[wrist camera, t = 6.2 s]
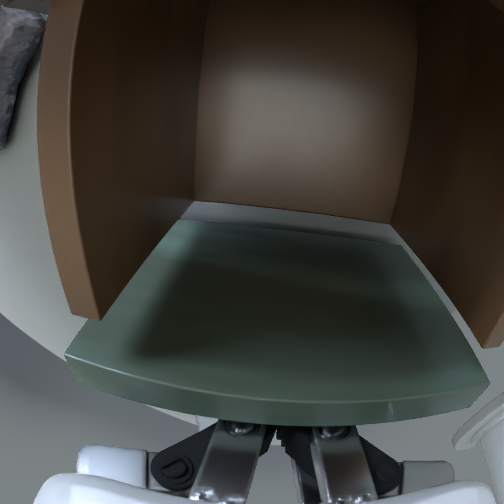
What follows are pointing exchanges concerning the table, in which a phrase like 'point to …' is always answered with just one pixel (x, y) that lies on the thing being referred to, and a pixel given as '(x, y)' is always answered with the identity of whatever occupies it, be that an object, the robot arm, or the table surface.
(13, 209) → the table surface
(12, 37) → the geode
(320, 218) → the table surface
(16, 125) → the table surface
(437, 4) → the drawer
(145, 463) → the robot arm
